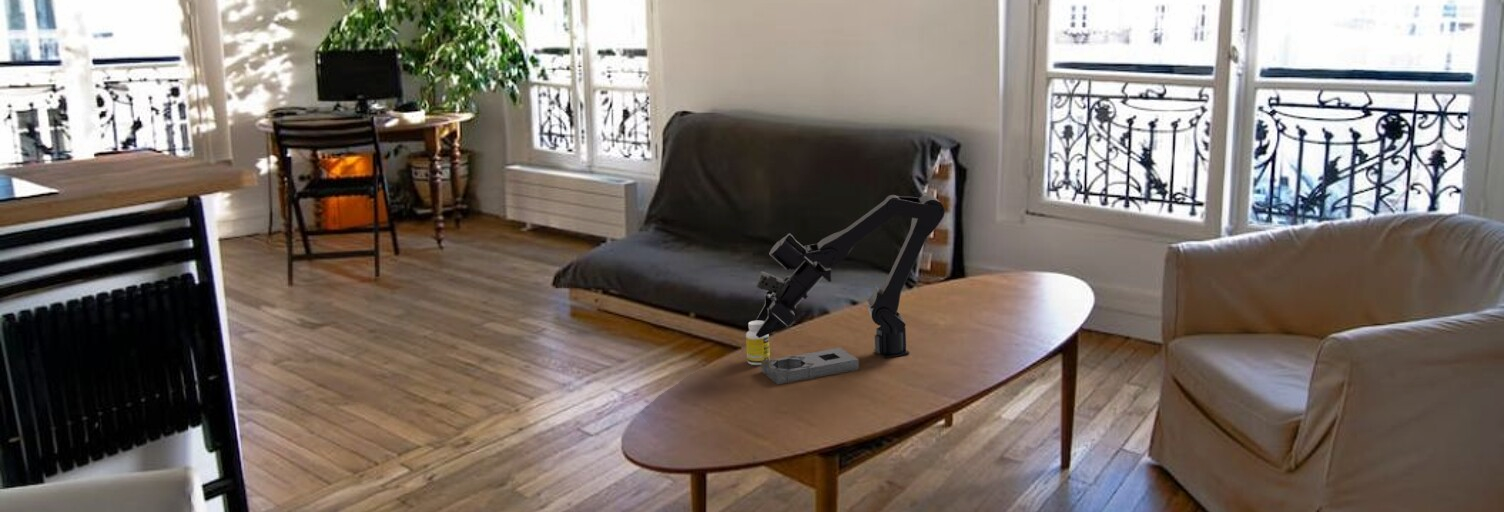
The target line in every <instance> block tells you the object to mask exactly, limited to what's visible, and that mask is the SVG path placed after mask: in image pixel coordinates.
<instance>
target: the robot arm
mask: <svg viewBox="0 0 1504 512" xmlns="http://www.w3.org/2000/svg"><path fill="white" fill-rule="evenodd" d="M945 213H946V211H945V208H944V205H943V204H942V203H941V201H939V199H937V198H936V197H935V196H933V195H927V194H926V195H923V196H921V197H916V196H915V197H914V196H899V195H895V194H890V195H888V196H887V197H885V199H884V200H883V201H882V202H880V203H879V204H877V205H876V206H875V207H873V208H872V209H871V210H869V211H868V212H867V213H865V214H864V215H863V216H861V217H860V218H859V219H857V220H855V221H854V222H853V223H852V224H850V225H849V226H848V227H846V228H844V229H842V230H839V231H837V232H835V233H832V234H830V235H828V236H826V237H824V238H822V239H821V240H820V241H819V242H818V243H812V244H808V245H804V246H803V245H802V244H801V243H800V242H799V241H797V240H796V239H795V236H793V235H792V233H790V232H789V233H787V234H786V236H784V237H783V238H781V239H780V240H778V241H777V242H776V243H775V244H774V245H773V246H772V248H771V249H770V251H769V253H768V254H769V256H770V257H771V258H773V260H775V261H776V262H777V263H778V264H780V265H781V266H782V267H783V268H784V269H785V270H787V271H788V270H791V271H793V270H795V271H794V272H793V273H792V274H790V275H789V274H788V275H786V276H784V278H782V277H779V276H776V275H773V274H771V273H768V272H766V271H762V270H761V271H760V273H759V275H758V278H757V280H756V283H755V284H756V287H757V288H758V289H760V290H764V291H765V293H764V300H765V301H764V304H763V307H762V309H761V310H760V312H759V314H758V315H757V317H756V319H755V321H756V320H760V321H764V323H763V324H762V326H761V327H760V329H759V330H758V332H757V334H756V336H757V337H758V338H760V337H763V336H765V335H767V334H769V335H770V334H772V333H774V332H777V331H780V330H783V329H785V328H786V329H787V328H789V327H791V326H792V325H793V324H794V323H795V322H796V315H795V311H796V310H797V305H798V304H800V302H802V300H803V299H804V300H806V299H807V298H808V297H809V295H808V294H809V293H810V292H811V291H812V290H813V288H814V287H816V285H817V284H818V283H819V282H820V281H821V280H822V278H824V279H825V280H826V281H827V282H829V283H831V282H832V276H831V275H832V272H833V271H832V269H831V268H833V267H837V266H838V265H839V264H840V263H841V262H842V261H843V260H844V259H845V258H846V257H847V256H848V255H849V253H850V252H851V251H852V249H854V247H855V246H856V245H857V244H858V243H859V242H860V241H862V240H863V239H865V238H867V237H868V236H869V235H870V234H871V233H874V232H875V230H877V229H878V228H880V227H881V226H882V225H884V224H886V223H887V222H888V221H890V220H891V219H892V218H894V216H896V215H897V216H904V217H907V218H908V217H909V218H911V222H910V229H909V231H908V234H907V236H906V238H905V239H904V242H903V244H902V246H901V249H900V251H899V252H898V255H897V257H896V259H895V260H894V262H893V265H892V267H891V270H890V271H889V273H888V276H887V278H886V280H885V282H884V283H883V284H882V286H881V287H880V288H878V287H877V286H875V285H874V286H873V289H872V293H871V295H870V297H869V298H868V299H867V304H868V305H867V310H868V312H869V315H870V317H871V320H872V321H873V322H874V323H875V324H876V325H878V326H879V327H876V328H875V329H876V330H875V331H876V332H875V333H876V334H875V335H874V349H873V352H874V353H876V354H877V355H879V356H881V357H883V358H885V359H889V358H895V357H899V356H904V355H905V356H906V355H909V354H911V353H910V351H909V350H907V335H906V334H907V333H906V332H907V331H906V330H907V329H906V323H905V321H904V319H903V318H902V315H901V314H900V313H899V312H898V310H899V306H900V300H901V293H902V291H903V288H904V287H905V284H906V283H907V280H908V279H909V276H910V273H911V271H912V270H913V268H914V266H915V263H916V261H917V259H918V257H919V255H920V253H921V251H922V248H923V246H924V244H925V242H926V240H927V239H928V238H929V236H930V235H932V233H933V232H935V230H936V229H937V228H938V226H939V225H940V223H941V222H942V220H943V218H944V216H945ZM824 266H825V267H828V268H825V267H824Z"/></svg>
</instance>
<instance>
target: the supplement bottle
mask: <svg viewBox="0 0 1504 512" xmlns="http://www.w3.org/2000/svg"><path fill="white" fill-rule="evenodd" d="M763 323H764V321H760V320H756V319H755V320H751V321H749V322H748V331H747V332H746V333H745V338H746V340H745V345H746V360H747V361H746V362H747V363H748V364H749V365H751V366H761V361H767V360H771V353H770V352H771V351H770V336H769V335H770V334H767V335H765V336H763V337H760V338H758V337H757V336H756V334H757V332H758V330H759V329H760V327H761V326H762V324H763Z"/></svg>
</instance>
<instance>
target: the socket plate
mask: <svg viewBox="0 0 1504 512" xmlns="http://www.w3.org/2000/svg"><path fill="white" fill-rule="evenodd" d="M760 367H761V368H760V369H761V373H762V374H764V376H766V377H767V378H768V379H770V380H771V381H772V382H773V383H775V384H776V385H782V384H788V383H793V382H798V381H804V380H805V381H806V380H810V379H815V378H820V377H827V376H831V375H838V374H843V373H847V372H853V371H859V367H860V366H859V359H858V358H857V357H855V356H854V355H852V354H851V353H849V352H848V351H846V350H844V349H843V348H841V347H837V348H830V349H825V350H819V351H813V352H809V353H808V352H807V353H802V354H797V355H791V356H786V357H780V358H779V357H778V358H773V359H770V360H767V361H761V365H760Z"/></svg>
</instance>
